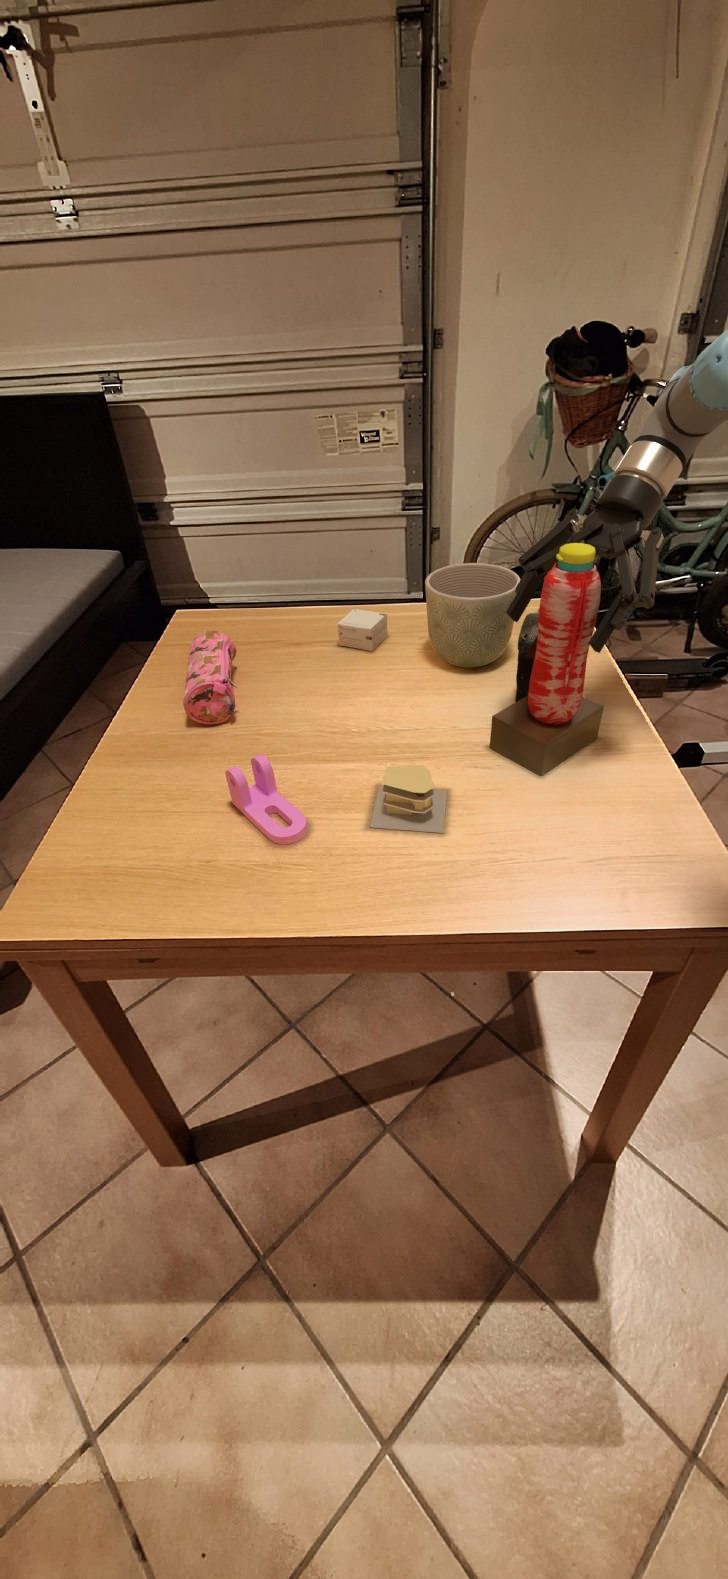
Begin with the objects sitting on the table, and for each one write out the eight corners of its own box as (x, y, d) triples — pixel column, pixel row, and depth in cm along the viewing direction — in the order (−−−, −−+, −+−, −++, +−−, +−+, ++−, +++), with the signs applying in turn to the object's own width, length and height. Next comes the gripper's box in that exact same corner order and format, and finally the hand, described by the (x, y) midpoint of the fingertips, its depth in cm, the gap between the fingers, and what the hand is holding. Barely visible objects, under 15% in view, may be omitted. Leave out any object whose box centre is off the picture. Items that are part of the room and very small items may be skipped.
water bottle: (513, 691, 100) (530, 529, 85) (563, 688, 100) (590, 525, 85) (531, 734, 91) (555, 560, 75) (586, 730, 91) (622, 556, 75)
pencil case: (243, 723, 109) (233, 678, 103) (188, 731, 108) (175, 685, 102) (240, 665, 125) (232, 623, 119) (193, 671, 124) (182, 629, 119)
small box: (338, 646, 129) (336, 622, 126) (355, 630, 135) (353, 607, 131) (372, 652, 126) (371, 628, 123) (388, 635, 132) (388, 612, 128)
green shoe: (537, 725, 103) (554, 608, 91) (499, 716, 106) (510, 601, 93) (569, 670, 117) (587, 561, 104) (534, 663, 119) (548, 557, 106)
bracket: (232, 803, 92) (223, 765, 88) (265, 787, 95) (257, 749, 90) (281, 850, 84) (273, 811, 80) (315, 831, 87) (309, 792, 82)
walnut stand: (597, 738, 100) (604, 705, 96) (541, 776, 93) (546, 743, 89) (545, 713, 106) (550, 682, 102) (489, 748, 99) (492, 715, 95)
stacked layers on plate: (369, 827, 86) (367, 796, 83) (379, 786, 93) (377, 756, 90) (442, 833, 85) (443, 802, 81) (447, 791, 92) (448, 760, 88)
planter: (417, 674, 118) (417, 596, 109) (431, 634, 131) (432, 561, 121) (510, 681, 115) (518, 600, 105) (515, 639, 127) (523, 564, 118)
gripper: (734, 524, 79) (640, 674, 81) (567, 491, 94) (492, 617, 97) (726, 487, 73) (625, 650, 75) (549, 458, 88) (470, 594, 91)
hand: (550, 632), depth 86 cm, fingers open, 13 cm apart
